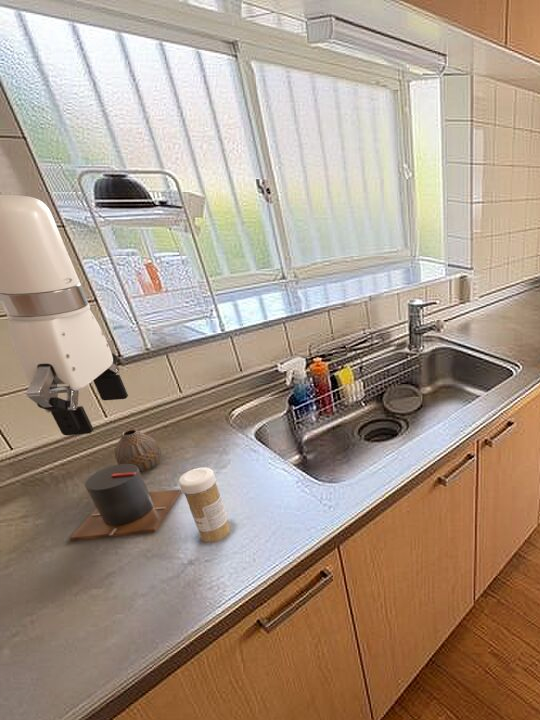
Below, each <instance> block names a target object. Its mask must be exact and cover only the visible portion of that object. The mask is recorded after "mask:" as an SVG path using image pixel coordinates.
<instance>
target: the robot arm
mask: <svg viewBox="0 0 540 720" xmlns="http://www.w3.org/2000/svg"><path fill="white" fill-rule="evenodd" d="M0 305H1V308H2V309H3V311H4V313H5V314H6V316H7V318H8V319H9V320H7V328H8V329H7V330H8V333H9V337H10V340H11V344H12V346H13V349H14V350H13V351H14V352H15V355H16V357H17V361H18V363H19V365H20V368H21V369H22V372H23V374H24V375H25V378H26V381H27V383H28V384H29V386H28V388H27V390H26V392H25V393H26V397H27V398H28V399H30V400H31V401H32V402H34V403H35V404H36V405H37V407H38V408H40V409H43V410H44V411H45V412H46V413H51V415H52V417H53V420H54V421H55V423H56V425H57V427H58V429H59V431H60V432H61V434H62V435H63V436H65V437H66V436H76V435H88V434H91V433H92V432H93V431H94V427H93V425H92V422H91V421H90V418H89V416H88V414H87V412H86V410H85V408H84V405H79V391H81V390H82V389H84V388H85V387H87V386H88V385H89V384H90V383H92V382H93V383H94V386H95V388H96V390H97V392H98V394H99V397H100V399H101V401H115V400H116V401H117V400H126V399H127V398H128V397H129V394H128V392H127V389H126V386H125V385H124V384H125V383H124V382H123V379H122V377H121V375H120V373H121V370H120V367H119V366H118V365H117V362H118V361H117V359H118V357H117V354H115V353H116V352H115V343H114V341H113V340H112V339H106V337H105V334H104V332H103V330H102V328H101V326H100V324H99V323H98V320H97V318H96V317H95V315H94V314H93V312H92V311H91V305H90V303H89V301H88V299H87V296H86V294H85V291H84V288H83V286H82V284H81V281H80V279H79V276H78V273H77V272H76V269H75V267H74V265H73V261H72V258H71V257H70V255H69V253H68V249H67V247H66V245H65V243H64V241H63V237H62V236H61V233H60V231H59V228H58V226H57V223H56V221H55V218H54V216H53V214H52V212H51V209H50V208H49V207H48V206H47V204H46V203H45V202H43V201H42V200H41V199H38V198H36V197H33V196H27V195H18V194H0ZM58 385H65V386H58ZM59 394H66V399H63V398H61V397H58V396H59Z"/></svg>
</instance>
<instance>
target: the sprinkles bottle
mask: <svg viewBox="0 0 540 720" xmlns="http://www.w3.org/2000/svg"><path fill="white" fill-rule="evenodd" d="M178 485H179V489H180V490H181V491H182V493H183V494H184V496H185V499H186V501H187V504H188V508H189V509H190V513H191V515H192V518H193V520H194V523H195V526H196V528H197V531H198V533H199V535H200V538H201V541H202V542H204V543H215V542H219V541H220V540H223V539H224V538H226V537H227V536H228V535H229V534H230V532H231V530H232V528H231V524H230V522H229V519H228V514H227V511H226V508H225V504H224V501H223V499H222V496H221V493H220V491H219V488H218V485H217V479H216V475H215V472H214V470H213V469H211V468H209V467H197V468H194V469H190V470H188V471H186V472H184V473H183V474H182V475H181V476H180V477H179V479H178Z"/></svg>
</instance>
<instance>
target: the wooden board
mask: <svg viewBox="0 0 540 720" xmlns="http://www.w3.org/2000/svg"><path fill="white" fill-rule="evenodd" d="M148 492H149V491H148ZM182 493H183V492H182V490H181V489H172V490H161V491H160V490H159V491H151V492H149V494H150V496H151V498H152V501H153V507H152V509H151V510H150V511H149V512H148V513H147V514H146V515H145V516H143V517H142V518H140V519H138V520H136V521H134V522H131V523H128V524H125V525H120V526H110V525H107V524H105V523H104V521H103V519H102V517H101V515H100V514H99V512H98V510H97V508H96V507H95V509H93V511H92V512H91V513H90V514H89V515H88V517H87V518H86V519H85V520H84V521H83V523H81V525H80V526H79V527H78V528H77V529H76V530H75V531H74V532H73V533H72V535H71V536H70V537H69V540H70V542H75V541H83V540H92V539H101V538H109V537H118V536H128V535H136V534H137V535H138V534H146V533H155V532H156V531H157V530H158V529H159V527H160V526H161V524H162V523H163V521H164V520H165V518H166V517H167V515H168V514H169V512H170V511H171V509H172V508H173V506H174V505H175V503H176V502H177V501H178V499H179V497H180V496H181V494H182Z"/></svg>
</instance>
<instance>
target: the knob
mask: <svg viewBox="0 0 540 720" xmlns="http://www.w3.org/2000/svg"><path fill="white" fill-rule="evenodd" d="M141 473H142V472H140V471H139V469H138V467H137V466H136V465H133V464H114V465H111V466H107V467H105V468H103V469H101V470H99V471H96V472H95V473H93V474H92V475H90V476H89V477H88V478H87V479H86V480H85V483H84V487H85V489H86V491H87V493H88V495H89V497H90V498H91V500H92V502H93V504H94V506H95V509H96V508H97V510H98V512H99V514H100V515H101V517H102V519H103V521H104V523H105V524H107V525H110V526H120V525H125V524H128V523H131V522H134V521H136V520H138V519H140V518H142V517H143V516H145V515H146V514H147V513H148V512H149V511H150V510H151V509H152V507H153V501H152V498H151V496H150V494H149V489H148V487H147V485H146V483H145V480H144V478H143V476H142V474H141Z"/></svg>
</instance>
